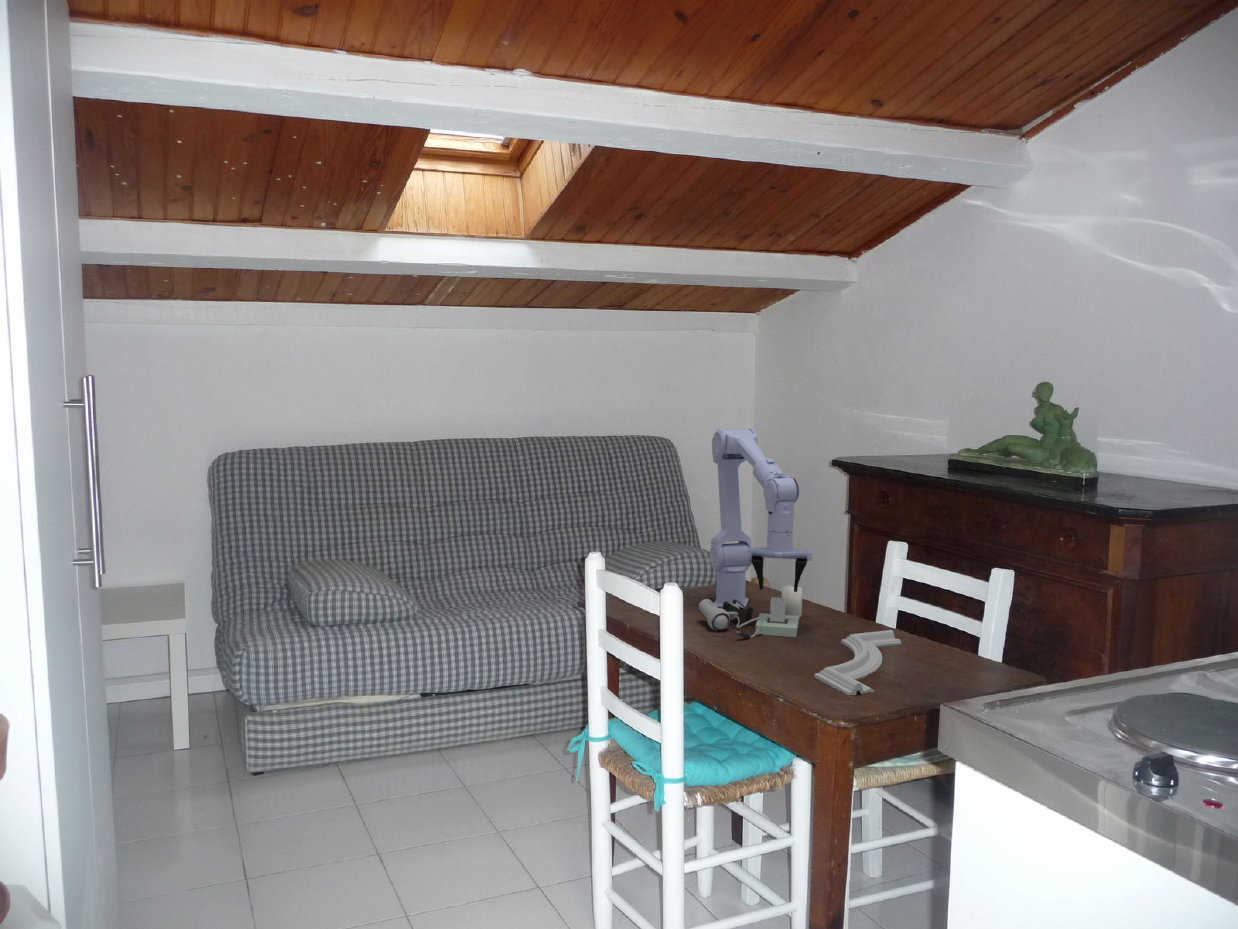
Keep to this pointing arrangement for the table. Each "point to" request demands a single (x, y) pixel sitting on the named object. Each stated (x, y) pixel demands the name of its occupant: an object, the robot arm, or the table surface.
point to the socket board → (778, 626)
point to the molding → (858, 662)
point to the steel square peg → (777, 610)
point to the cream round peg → (792, 600)
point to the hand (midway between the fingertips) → (778, 589)
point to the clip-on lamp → (727, 615)
